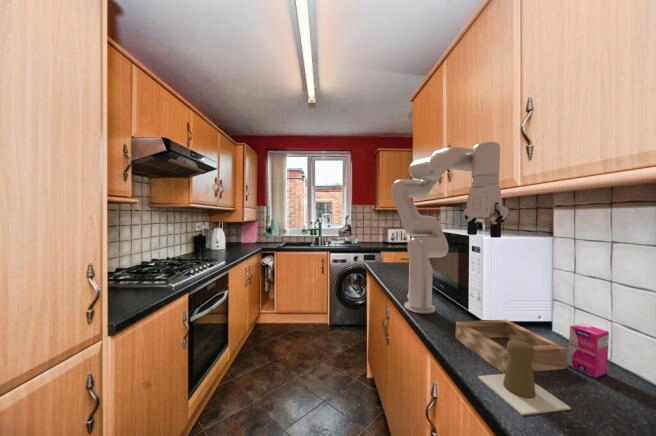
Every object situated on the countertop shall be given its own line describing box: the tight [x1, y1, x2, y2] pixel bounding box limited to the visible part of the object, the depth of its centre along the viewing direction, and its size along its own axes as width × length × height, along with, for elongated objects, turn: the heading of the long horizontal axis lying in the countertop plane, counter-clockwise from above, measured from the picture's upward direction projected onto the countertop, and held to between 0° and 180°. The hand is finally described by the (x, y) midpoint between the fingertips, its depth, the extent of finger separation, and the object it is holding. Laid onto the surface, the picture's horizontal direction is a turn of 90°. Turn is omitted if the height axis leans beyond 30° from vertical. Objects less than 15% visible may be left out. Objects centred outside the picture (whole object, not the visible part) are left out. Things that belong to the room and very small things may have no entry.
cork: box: [503, 339, 536, 399], centre depth 59 cm, size 6×6×11 cm
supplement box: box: [567, 322, 610, 380], centre depth 68 cm, size 6×6×12 cm
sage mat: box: [477, 373, 572, 416], centre depth 59 cm, size 12×12×1 cm
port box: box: [455, 319, 567, 374], centre depth 76 cm, size 19×19×6 cm
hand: (483, 236), depth 81 cm, fingers open, 9 cm apart
